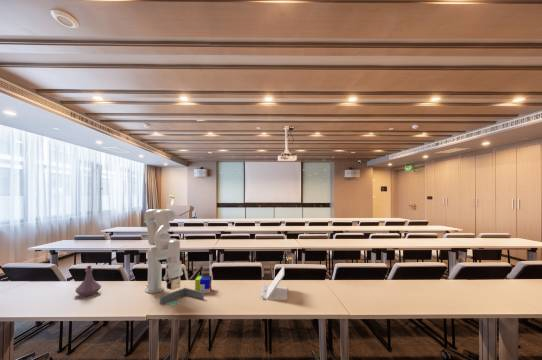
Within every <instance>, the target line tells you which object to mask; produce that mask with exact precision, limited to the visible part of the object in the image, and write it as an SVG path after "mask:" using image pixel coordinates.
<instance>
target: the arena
mask: <svg viewBox="0 0 542 360" xmlns="http://www.w3.org/2000/svg"><path fill="white" fill-rule="evenodd" d="M183 296H187V297H191V298H194V299H198V300H205V299H204V297H205V293H204V292H201V291H197V290H195V289H192V288H188V287H183V288H179V289H178V290H177V289H176V291H172V292H169V293H167V294H164V295H161V296H159V305H163V304H165V305H167V306H170V307H173V306H176V305H179V304H181V302H180V301H177V299H178V298H181V297H183Z"/></svg>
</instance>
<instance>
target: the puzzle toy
mask: <svg viewBox="0 0 542 360" xmlns="http://www.w3.org/2000/svg"><path fill="white" fill-rule="evenodd" d="M194 281H195V282H194V283H195V284H194V290H197V291H201V292H204V294H209V293H210V292H211V291H212V275H197V276H196V278H195V280H194Z"/></svg>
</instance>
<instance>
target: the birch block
mask: <svg viewBox="0 0 542 360" xmlns="http://www.w3.org/2000/svg"><path fill="white" fill-rule="evenodd" d="M170 283H171V289H170V291H174V290H177V289H181V278H177V277H175V278H172V279H171V282H170ZM166 289H167V286H166Z"/></svg>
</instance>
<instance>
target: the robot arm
mask: <svg viewBox="0 0 542 360" xmlns="http://www.w3.org/2000/svg"><path fill="white" fill-rule="evenodd" d="M143 215H144V222H145V225H146V228H147V240H148V241H147V242H148V244H149V246H154V247H149V249H147V252H146V257H147V283H146V284H145V286H146V288H145V292H146V293H150V294H155V293H159V292H162V291H163V290H164V286H162V280H164V281H165V282H166V287H167V288H166V289H167V290H171V283H170V282H171V279H172V278H175V277H177V278H180V279H182V276H183V274H184V272H183V266H182V261H181V259H180V258H181V253H180V252H181V241H180V240H179V239H176V238H174V237H173V238H171V234H170V233H169V232H168V231H170V229H171V225H170V222H173V221H174V220H175V218H176V214H175V211H174V210H173V209H170V208H169V209H168V208H155V209H154V208H153V209H148V210H146V211H145V212H144V214H143ZM160 260H166V265H165V274H164V276H163V275H162V271H163V269H162V264H161V262H160ZM162 276H163V277H162Z"/></svg>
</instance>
